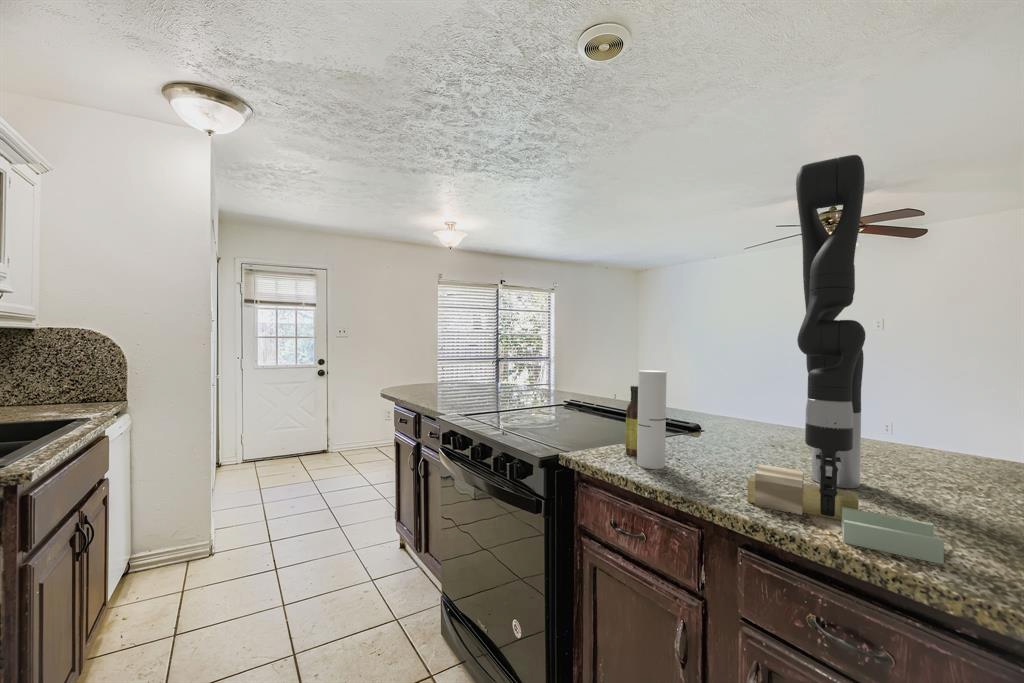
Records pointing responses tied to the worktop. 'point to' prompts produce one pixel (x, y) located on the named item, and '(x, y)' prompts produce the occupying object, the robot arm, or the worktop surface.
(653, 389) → the cylindrical container
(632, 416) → the sauce bottle
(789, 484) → the beige u-shaped block
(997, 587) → the worktop surface
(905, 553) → the cradle
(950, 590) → the worktop surface
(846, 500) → the long yellowish block
